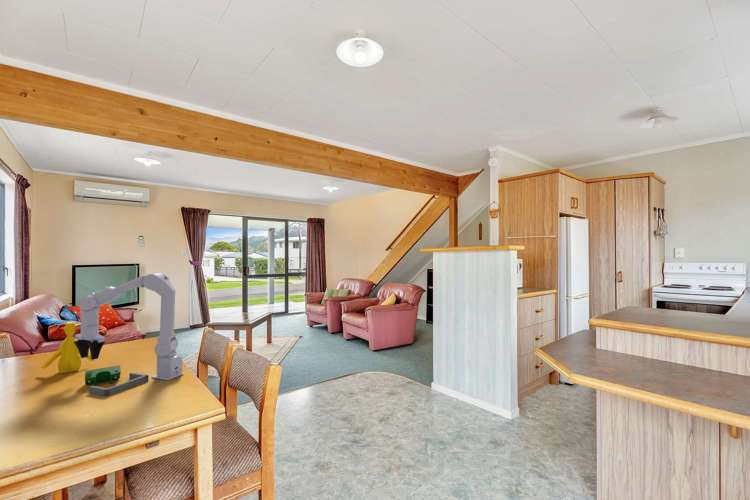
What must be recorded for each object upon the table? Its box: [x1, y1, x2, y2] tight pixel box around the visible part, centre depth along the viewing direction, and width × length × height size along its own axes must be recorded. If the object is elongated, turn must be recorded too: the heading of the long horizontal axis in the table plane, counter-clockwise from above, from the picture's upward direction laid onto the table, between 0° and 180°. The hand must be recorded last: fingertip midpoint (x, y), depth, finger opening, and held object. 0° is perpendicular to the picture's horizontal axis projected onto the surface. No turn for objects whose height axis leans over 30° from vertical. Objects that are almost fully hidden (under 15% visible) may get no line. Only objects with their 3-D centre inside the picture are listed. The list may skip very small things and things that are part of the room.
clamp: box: [84, 364, 122, 386], centre depth 140 cm, size 12×6×9 cm, turn 123°
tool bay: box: [88, 371, 149, 398], centre depth 137 cm, size 9×16×2 cm, turn 161°
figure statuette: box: [40, 321, 93, 374], centre depth 154 cm, size 18×8×22 cm, turn 135°
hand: (89, 358), depth 142 cm, fingers open, 6 cm apart
